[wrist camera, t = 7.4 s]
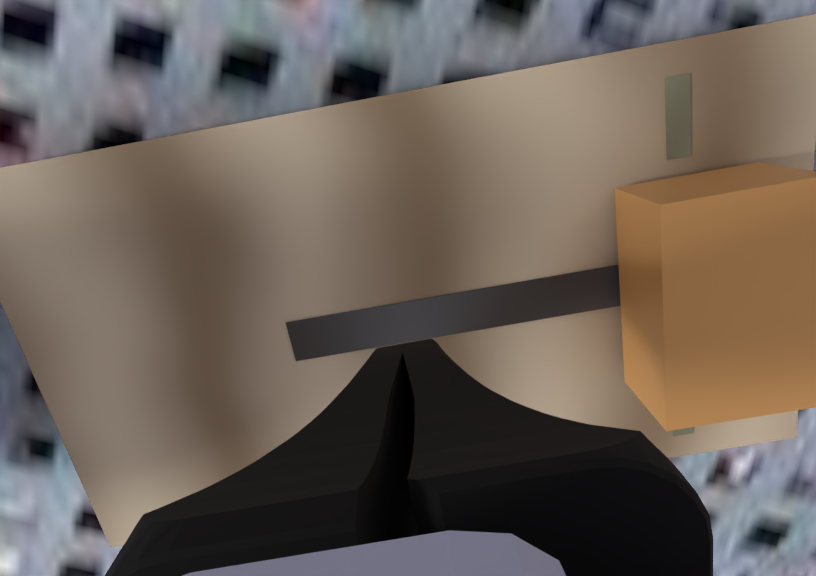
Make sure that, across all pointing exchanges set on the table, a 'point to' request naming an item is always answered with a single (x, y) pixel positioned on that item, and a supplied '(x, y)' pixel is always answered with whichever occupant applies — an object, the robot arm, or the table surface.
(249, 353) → the fader panel
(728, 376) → the fader knob
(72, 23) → the table surface
